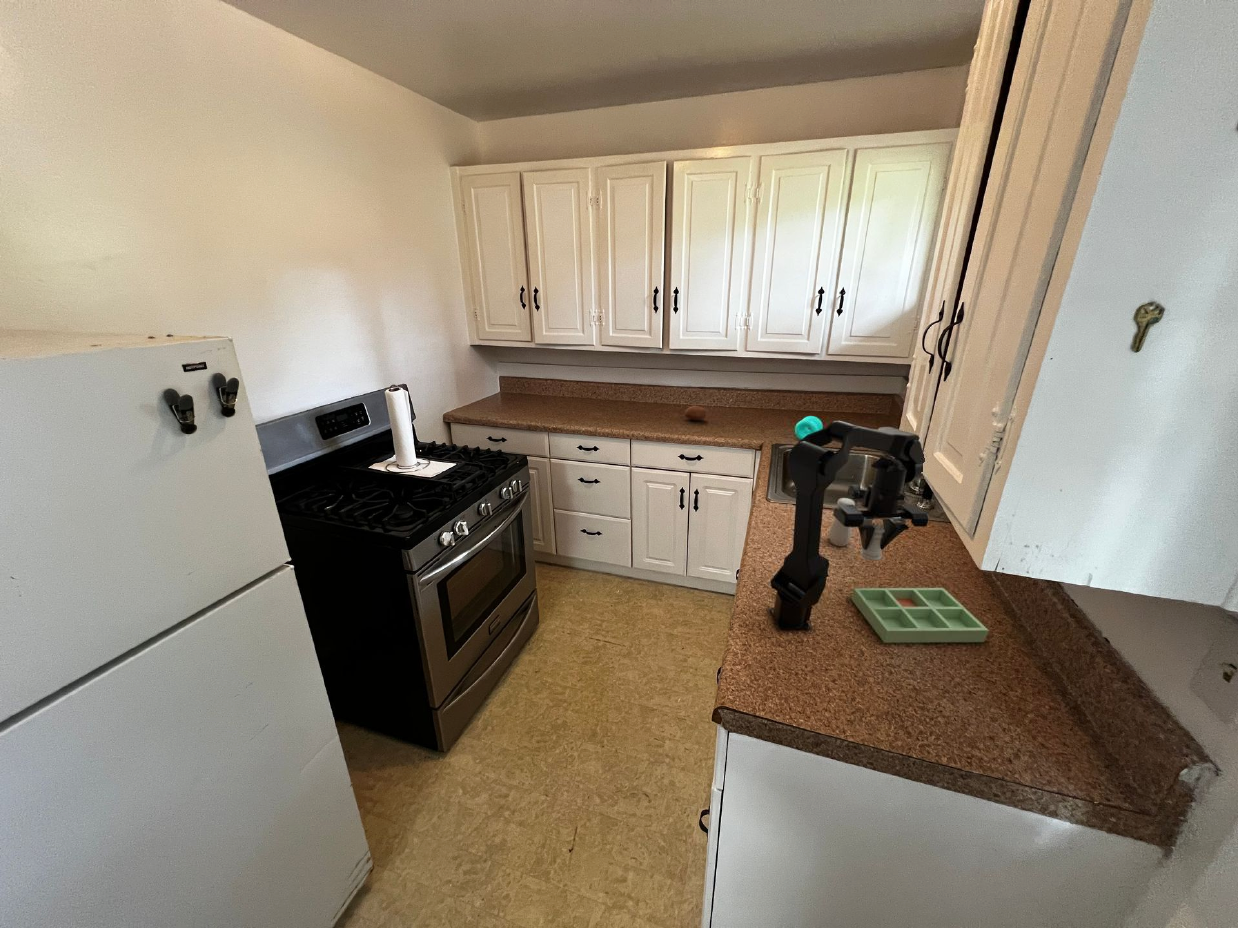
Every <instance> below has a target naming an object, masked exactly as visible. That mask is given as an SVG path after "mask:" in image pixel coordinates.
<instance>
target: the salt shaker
mask: <svg viewBox="0 0 1238 928" xmlns="http://www.w3.org/2000/svg"><path fill="white" fill-rule="evenodd" d="M836 502H837V503H836V506H837V505H854V506H855V507H856V502H855V500H854V499H849V498H848V497H847V498H846V497H840V498H839V499H838V500H837V501H836ZM827 535H828V537H829V541H830V544H832V545H834V546H837V547H845V546H846V545H847V544H848V543H849V542H850V540H851V538H852V527H845V526H843V525H842V524H841V523H840V522H839V521H838V520H837V519H836V518H835V517H834V518H833V521H832V523H831V525H830V527H829V530H828V532H827Z"/></svg>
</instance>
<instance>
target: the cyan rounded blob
mask: <svg viewBox="0 0 1238 928" xmlns="http://www.w3.org/2000/svg"><path fill="white" fill-rule="evenodd" d="M823 427H824V425H823V423H822V421H821V419H820V418H818V417H817V416H814V415H808V416H805V417H804V418H803V419H802V420H800V421H798V422H797V423H796V424H795V427H794V433H795V436H796V437H797V438H798V439H799V441H801V440H802V439H803V438H804V437H805V436H807V435H808V434H811V433H814V432H816V431H819V430H822V429H824V428H823Z"/></svg>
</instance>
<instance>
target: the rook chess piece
mask: <svg viewBox="0 0 1238 928" xmlns="http://www.w3.org/2000/svg"><path fill="white" fill-rule="evenodd" d="M872 526H873V527H874V528H875V531H874V533H873V536H872V538H871V541H870V544H869V546H868V548H867V549H866V550H864V549H863V548H862V547H861V549H860V551H859V553H860V555H861V557H862V558H864V559H865V560H868V561H872V562H873V561H874V562H876V561H879V560H881V559H882V555H883V550H881V547H880V540H881V538H882V533H884V532H885V530H884V526H883V523H879V522H876V523H875V522H872Z"/></svg>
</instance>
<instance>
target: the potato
mask: <svg viewBox="0 0 1238 928" xmlns="http://www.w3.org/2000/svg"><path fill="white" fill-rule="evenodd" d="M684 416H685V418H686V419H688V420H692V421H694V422H700V421H703V420H704V419H705V418H706V417H707V410H706V409H705V408H704V407H701V406H698V405H692V406H690V407H688V408H687V409H686V410H685V412H684Z"/></svg>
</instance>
